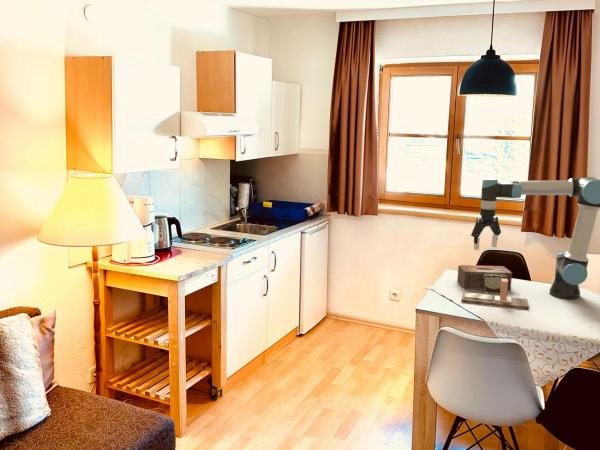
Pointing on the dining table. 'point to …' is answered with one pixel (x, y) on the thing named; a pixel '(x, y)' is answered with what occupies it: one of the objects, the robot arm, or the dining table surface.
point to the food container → (493, 282)
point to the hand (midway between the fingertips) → (485, 248)
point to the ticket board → (490, 300)
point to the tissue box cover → (479, 275)
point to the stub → (503, 292)
